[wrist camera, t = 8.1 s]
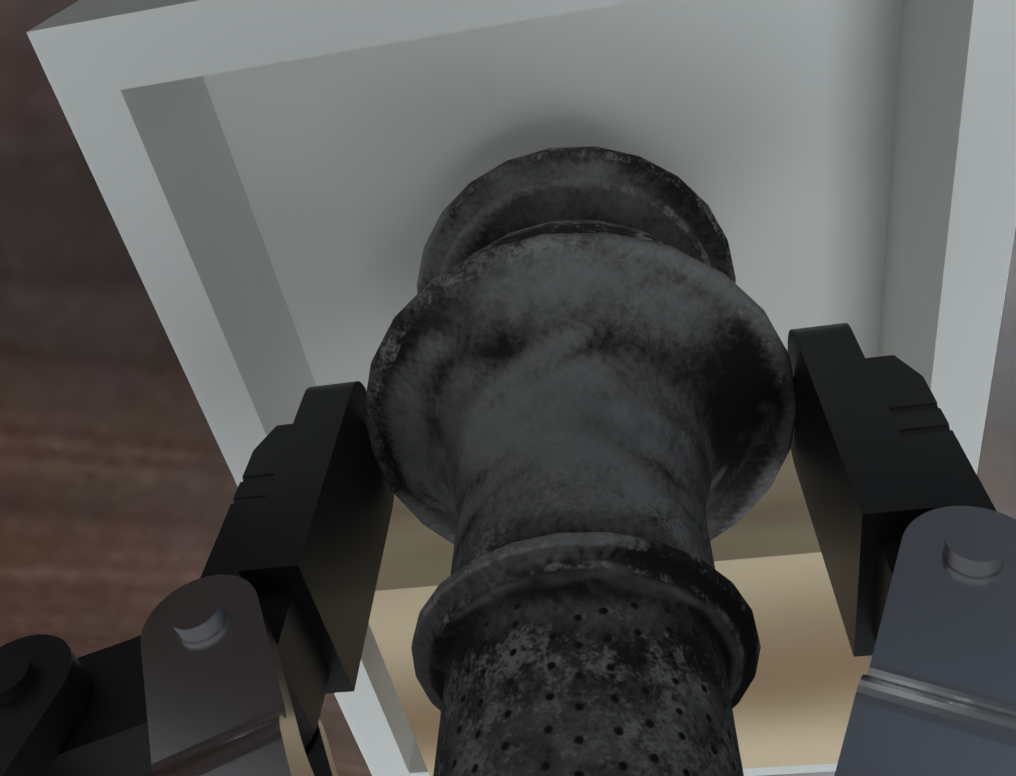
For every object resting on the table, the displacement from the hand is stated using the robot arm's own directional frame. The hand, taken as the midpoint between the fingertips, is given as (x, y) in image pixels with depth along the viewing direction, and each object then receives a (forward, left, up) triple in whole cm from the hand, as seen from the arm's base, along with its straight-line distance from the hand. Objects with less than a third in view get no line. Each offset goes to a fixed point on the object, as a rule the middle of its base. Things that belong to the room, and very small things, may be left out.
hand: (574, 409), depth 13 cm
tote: (+4, 0, -7) cm, 8 cm away
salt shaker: (0, 0, -3) cm, 3 cm away
